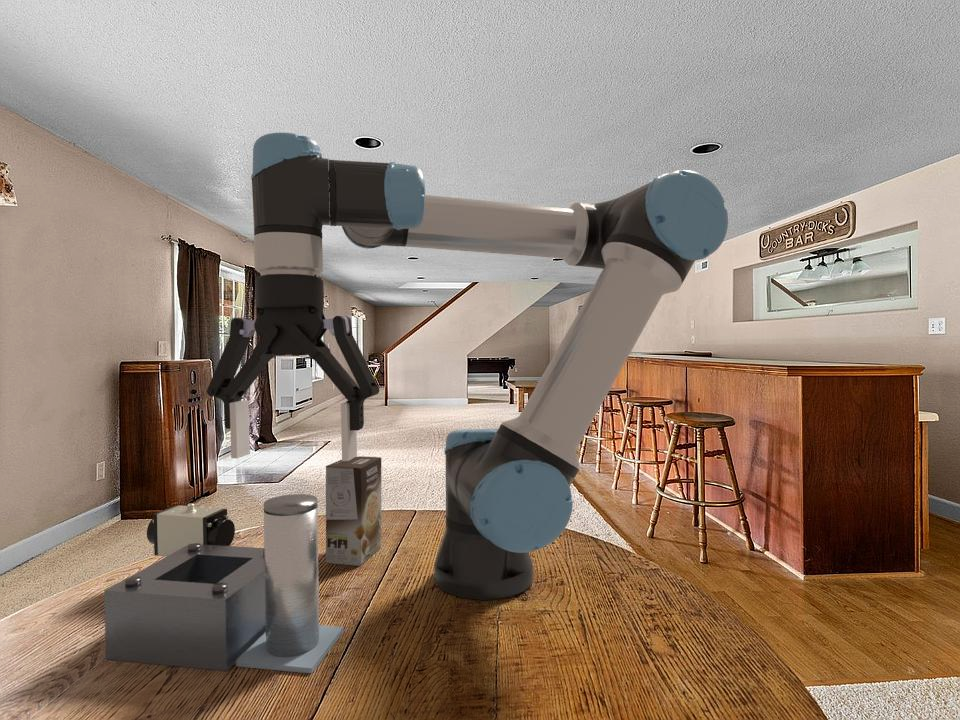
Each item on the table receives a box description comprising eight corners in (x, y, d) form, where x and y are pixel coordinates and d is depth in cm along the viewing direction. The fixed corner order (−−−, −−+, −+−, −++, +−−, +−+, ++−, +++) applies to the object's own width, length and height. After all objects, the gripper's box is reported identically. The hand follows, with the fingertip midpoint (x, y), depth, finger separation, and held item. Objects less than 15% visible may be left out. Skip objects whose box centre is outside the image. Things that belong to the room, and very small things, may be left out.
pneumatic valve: (216, 593, 82) (215, 510, 81) (146, 586, 84) (144, 506, 84) (240, 577, 87) (239, 500, 87) (173, 571, 90) (172, 495, 89)
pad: (343, 631, 71) (343, 627, 71) (311, 673, 62) (311, 668, 62) (276, 626, 72) (276, 621, 72) (235, 666, 64) (235, 661, 64)
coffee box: (361, 567, 91) (360, 468, 91) (324, 563, 93) (324, 466, 92) (382, 546, 100) (382, 456, 100) (348, 544, 102) (348, 454, 101)
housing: (291, 607, 77) (291, 545, 77) (226, 671, 63) (225, 594, 62) (191, 599, 80) (190, 539, 79) (105, 659, 65) (104, 585, 65)
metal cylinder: (327, 632, 70) (325, 495, 69) (305, 659, 64) (303, 509, 63) (281, 628, 71) (279, 493, 70) (255, 655, 65) (253, 507, 64)
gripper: (403, 275, 68) (406, 452, 68) (211, 281, 71) (216, 449, 72) (383, 268, 60) (386, 466, 61) (169, 275, 64) (176, 461, 65)
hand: (294, 457), depth 67 cm, fingers open, 13 cm apart
